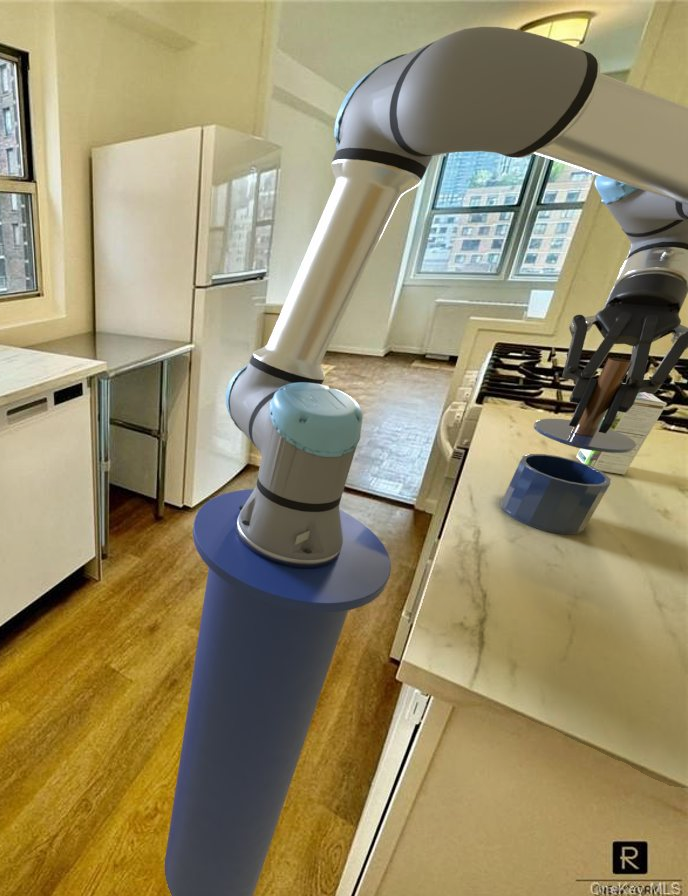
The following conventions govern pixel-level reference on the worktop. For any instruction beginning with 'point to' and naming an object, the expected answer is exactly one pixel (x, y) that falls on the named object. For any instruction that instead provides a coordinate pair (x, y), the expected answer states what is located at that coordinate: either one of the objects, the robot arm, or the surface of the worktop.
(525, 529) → the worktop surface
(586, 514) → the pot
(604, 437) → the lid
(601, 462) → the syrup box
